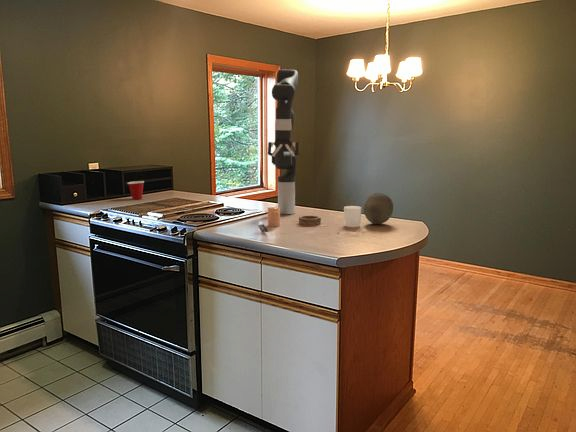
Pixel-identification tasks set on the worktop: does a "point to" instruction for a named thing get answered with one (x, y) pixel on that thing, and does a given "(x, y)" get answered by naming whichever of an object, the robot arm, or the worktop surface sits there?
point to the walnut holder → (309, 221)
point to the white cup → (352, 216)
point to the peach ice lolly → (273, 216)
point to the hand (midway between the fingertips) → (283, 164)
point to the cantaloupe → (378, 208)
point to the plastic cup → (136, 189)
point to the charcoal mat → (263, 228)
